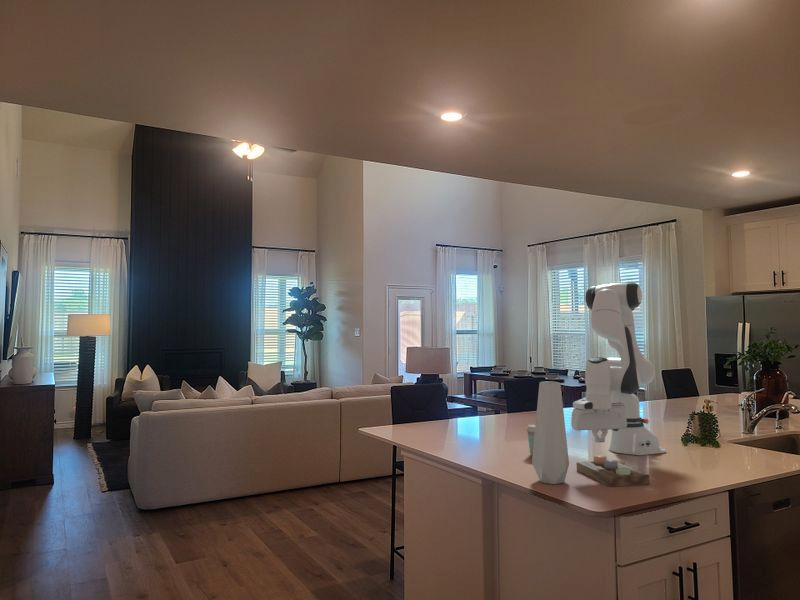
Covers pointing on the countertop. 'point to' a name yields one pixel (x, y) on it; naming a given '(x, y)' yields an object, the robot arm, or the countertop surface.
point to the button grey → (610, 464)
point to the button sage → (622, 471)
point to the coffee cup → (531, 437)
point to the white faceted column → (550, 435)
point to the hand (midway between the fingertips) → (599, 442)
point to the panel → (613, 474)
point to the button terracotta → (599, 459)
